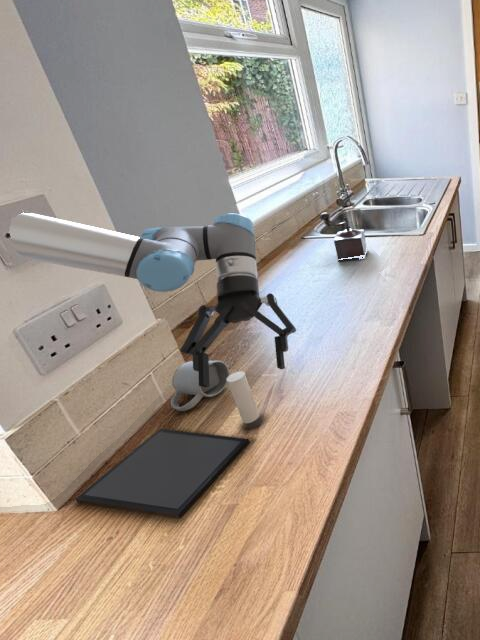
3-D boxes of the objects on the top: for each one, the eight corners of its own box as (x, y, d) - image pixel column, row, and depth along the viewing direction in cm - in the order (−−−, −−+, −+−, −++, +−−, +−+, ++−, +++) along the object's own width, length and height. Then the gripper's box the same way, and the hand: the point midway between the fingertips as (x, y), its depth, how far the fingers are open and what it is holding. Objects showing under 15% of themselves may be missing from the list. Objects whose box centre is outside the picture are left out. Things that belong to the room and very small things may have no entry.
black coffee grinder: (368, 249, 169) (360, 208, 162) (365, 259, 159) (357, 216, 152) (329, 253, 167) (319, 211, 159) (324, 264, 157) (313, 220, 149)
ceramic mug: (203, 378, 96) (191, 352, 93) (234, 380, 95) (223, 354, 92) (162, 411, 86) (148, 384, 83) (196, 415, 85) (182, 386, 82)
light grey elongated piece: (241, 428, 81) (222, 381, 77) (252, 417, 84) (234, 370, 79) (254, 429, 81) (236, 382, 76) (265, 418, 84) (248, 371, 79)
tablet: (77, 503, 68) (74, 498, 67) (161, 432, 81) (159, 428, 81) (180, 518, 64) (177, 514, 64) (249, 442, 78) (248, 438, 78)
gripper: (159, 286, 81) (159, 392, 74) (296, 263, 89) (306, 358, 82) (178, 297, 88) (179, 395, 81) (303, 275, 96) (314, 363, 89)
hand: (243, 377), depth 82 cm, fingers open, 13 cm apart
